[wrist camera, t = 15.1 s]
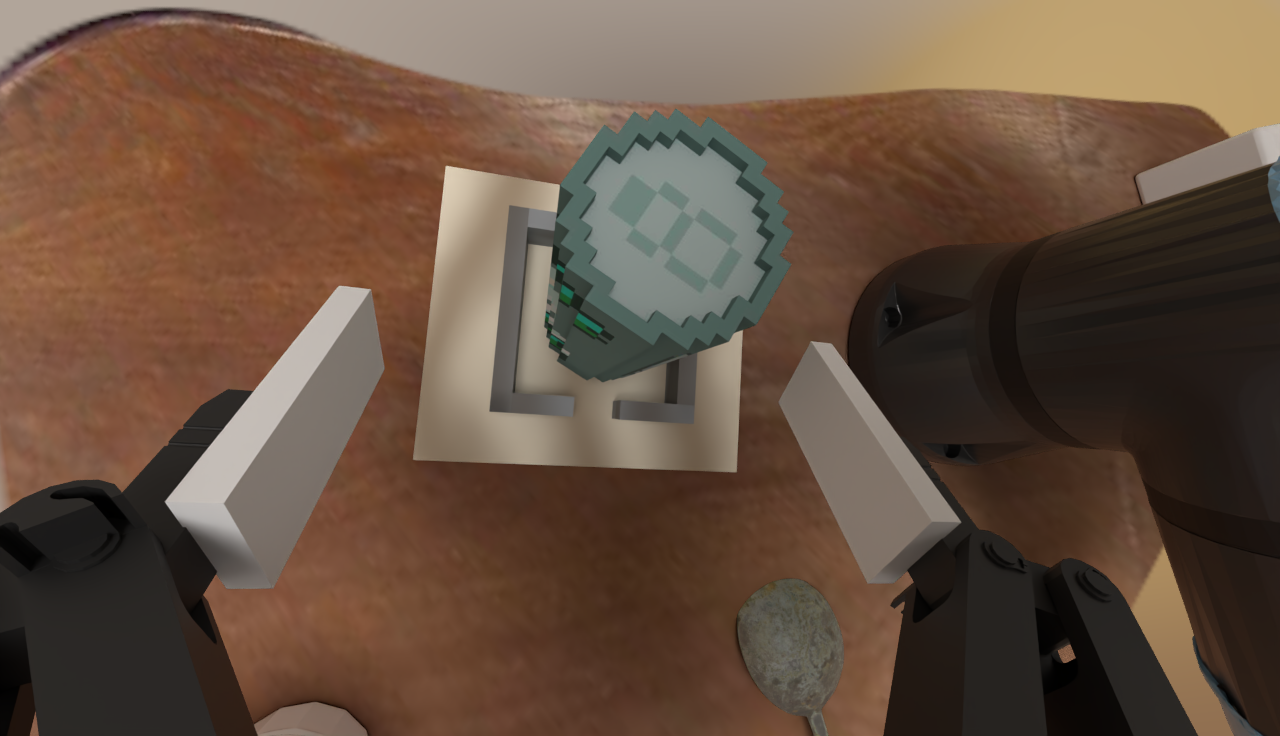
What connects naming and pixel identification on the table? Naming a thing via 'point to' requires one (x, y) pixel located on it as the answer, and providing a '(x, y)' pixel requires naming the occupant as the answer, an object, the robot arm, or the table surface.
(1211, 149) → the medicine bottle
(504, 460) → the board with grey rim
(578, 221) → the can
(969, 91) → the table surface
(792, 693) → the soupspoon
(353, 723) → the white cup
